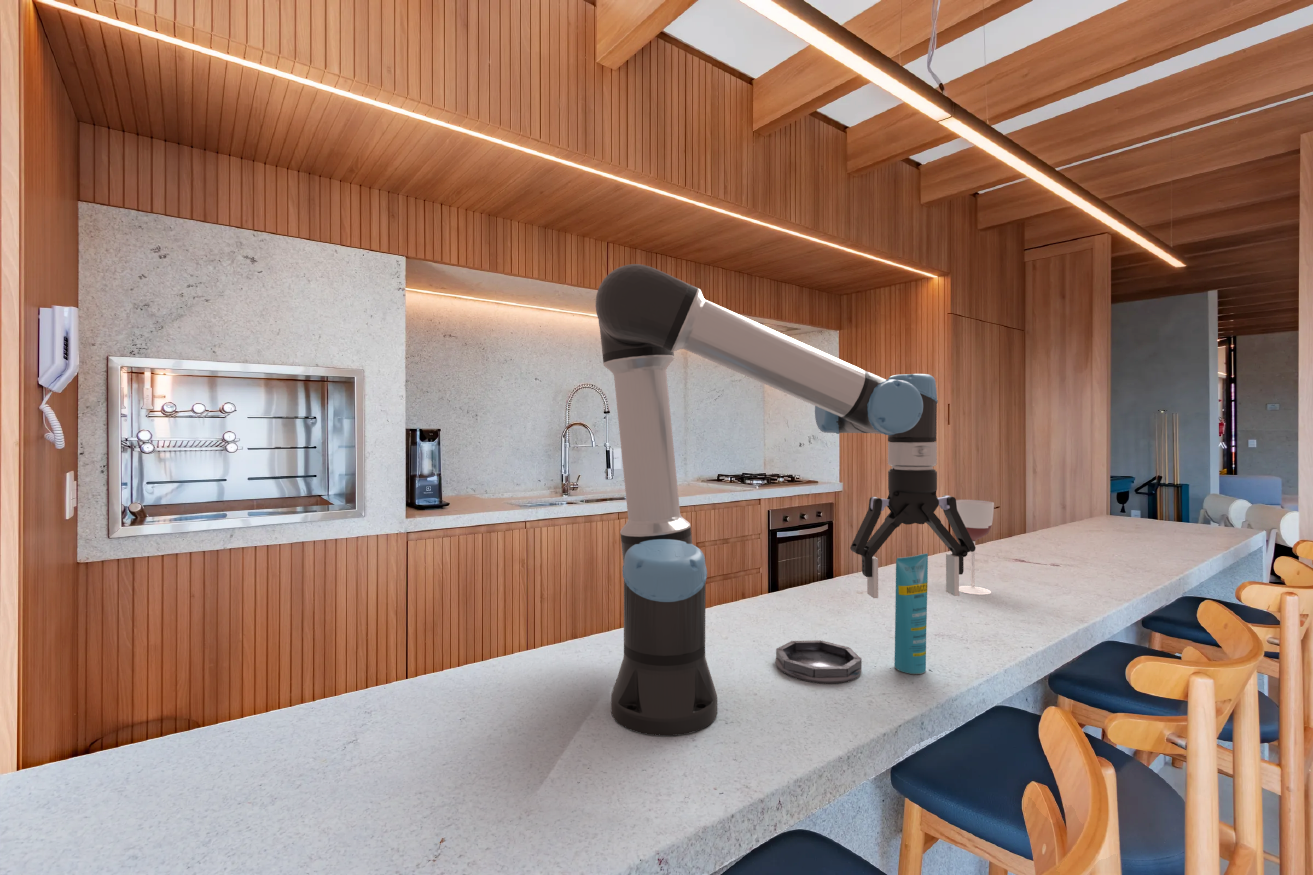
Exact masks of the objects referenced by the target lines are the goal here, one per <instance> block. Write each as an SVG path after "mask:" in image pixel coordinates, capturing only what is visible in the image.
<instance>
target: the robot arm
mask: <svg viewBox="0 0 1313 875" xmlns="http://www.w3.org/2000/svg"><path fill="white" fill-rule="evenodd" d="M595 296H596V297H595V312H596V316H597V319H598V326H599V334H600V345H601V353H602V364H603V366H604V367H605V368H606V369H607V370H609V371H610V372H611V373H612V375H613V380H614V381H613V382H614V389H615V400H616V410H617V419H618V428H619V429H618V430H619V431H618V432H619V439H620V450H621V459H622V460H621V461H622V468H623V470H622V471H623V479H624V480H623V481H624V490H625V491H624V492H625V501H626V510H627V518H628V519H627V521H626V523H625V524H624V526H622V528H621V529H620V531H619V534H620V543H621V553H622V563H623V564H622V578H623V658H622V661H621V663H620V664H621V665H620V667H619V670H618V674H617V677H616V680H615V682H614V683H615V684H614V686H613V690H612V692H611V697H610V698H611V699H610V700H611V702H610V703H611V704H610V707H611V709H610V711H611V716H612V718H613V720H615V722H616V723H617V724H618V725H621V726H622V727H623V728H625V729H628V730H630V731H633V732H636V733H638V734H639V733H640V734H643V735H644V734H645V735H649V736H662V737H663V736H664V737H665V736H668V737H669V736H670V737H671V736H681V735H687V734H692V733H694V732H697V731H700V730H702V729H705V728H707V727H708V726H710V725H711V724H712V723H714V721H715V720H716V718H717V715H718V694H717V690H716V688H715V685H714V681H713V678H712V674H711V671H710V668H709V665H708V662H707V657H706V581H707V578H708V570H707V565H706V557H705V554H704V553H703V551H702V549H700V548H699V547H698V546H696V545H695V544H693V537H692V526H691V523H690V522H689V521H688V520H687V519H685V518H684V517H683V516H682V515H681V508H680V501H679V500H680V499H679V497H680V496H679V488H678V478H677V477H678V476H677V468H676V458H675V448H674V447H675V446H674V437H673V436H674V435H673V428H672V418H671V417H672V416H671V408H670V406H671V405H670V398H669V388H668V387H669V386H668V377H667V375H668V374H667V370H668V367H670V365H671V363H672V362H673V361H674V360H675V354H674V353H675V352H677V351H679V350H685V351H688V352H690V353H692V354H694V355H696V356H700V357H702V358H704V359H706V360H708V361H711V362H713V363H715V364H717V365H720V366H722V367H725V368H727V369H729V370H731V371H734V372H735V373H739V374H741V375H743V376H745V377H747V378H750V379H753V380H754V381H757V382H759V383H762V384H764V385H766V386H769V387H771V388H773V389H775V390H778V391H780V392H782V393H785V394H787V395H789V396H792V397H794V398H797V399H799V400H801V401H803V402H805V403H808V404H810V405H813V406H814V417H815V418H814V419H815V423H816V425H817V426H816V427H817V428H818V430H819V431H820V432H822V433H828V434H838V435H839V434H875V435H876V434H877V435H878V434H879V435H885V436H887V464H888V466H891V468H889V470H888V471H887V478H888V479H887V480H888V484H887V486H888V487H887V490H888V496H887V498H880V497H876V496H870V497H869V500H868V510H867V511H866V514H865V515H864V518H863V520H862V522H861V525H860V526H859V529H858V531H857V533H856V534H855V536H854V539H853V541H852V543H851V545H850V552H851V551H852V552H853V553H854V554H857V555H859V556H861V572H862V575H863V576H864V577H866V579H867V580H866V584H867V590H866V591H867V595H869V596H870V597H871V598H873V599H879V558H877V557H876V556H875V554H876V553H877V552H878V550H880V549H881V548H882V546H883V545H884V544H885V542H886V541H887V540H888V539H889V537H890V536H891V535H892V534H893V533H894V531H895V530H896V529H897V528H899V527H900V526H901V525H902V524H903V525H906V526H907V525H913V524H917V525H925V524H927V525H928V526H929V528H930V529H931V530H932V531H933V532H934V533H935V534H936V536H937V537H938V538H939V539H940V540H941V542H942V543H943V544H944V545H945V547H946V548H947V549H948V551H950V552H951V553H945V592H946V593H948V594H950V595H952V596H953V597H959V596H960V591H959V586H960V576H961V575H963V574H964V558H966V557H967V556H968V553H971V552H973V551H975V552H976V544H975V545H974V543H973V541H972V539H971V537H970V535H969V533H968V531H967V529H966V527H965V525H964V523H963V521H962V519H961V517H960V515H959V513H958V511H957V504H956V500H957V499H956V497H955V496H951V495H947V494H944V495H942V497H941V496H940V497H938V495H937V490H938V471H936V469H935V468H933V467H936V466H937V464H938V463H937V462H938V461H937V460H938V458H937V457H938V451H937V450H938V446H937V445H938V443H937V437H938V436H937V430H938V428H937V426H938V424H937V422H938V420H937V419H938V418H937V416H938V412H937V411H938V408H937V407H938V402H939V401H938V394H937V392H938V391H937V384H936V383H937V381H936V379H935V377H934V376H932V375H931V374H928V373H910V374H895V375H891V376H889V377H888V378H887V379H886V378H883V377H882V376H879V375H876V374H875V373H872V372H869V371H867V370H864V369H862V368H860V367H858V366H856V365H854V364H851V363H849V362H846V361H844V360H842V359H840V358H838V357H835V356H833V355H831V354H829V353H826V352H824V351H822V350H820V349H818V348H815V347H813V346H811V345H808V344H806V343H804V342H801V341H799V340H797V339H795V338H793V337H791V336H788V335H786V334H783V333H781V332H780V331H778V330H777V331H776V330H775V329H772V328H770V327H768V326H766V325H764V324H761V323H759V322H757V321H756V320H755V321H754V320H752V319H750V318H747V317H746V316H743V315H741V314H738V313H737V312H734V311H732V310H729V309H727V308H726V307H723V306H720V305H719V304H716V303H714V302H712V301H710V300H707V299H705V298H704V295H703V292H702V290H701V288H698V287H696V286H694V285H693V284H689V283H687V282H685V281H683V280H681V279H679V278H677V277H674V276H672V275H671V274H668V273H666V272H664V271H661V270H659V269H657V268H654V267H652V266H649V265H645V264H639V263H632V264H626V265H622V266H619V267H617V268H615V269H613V270H612V271H611V272H609V273H608V274H607V275H606V277H604V278H603V279H602V282H601V283H600V285H599V287H598V289H597V293H596V295H595ZM886 507H887V509H888V510H889V513H888V514H887V515H886V517H885V518H884V521H883V522H882V524H881V525H880V526H879V527H878V529H877V530H876V531H875V532H874V534H873V535H872V533H873V531H874V530H875V527H876V525H877V523H878V521H879V519H880V517H881V514H882V512H883V511H884V510H885V508H886ZM938 507H939V508H940V509H941V510H943V513H944V514H943V515H945V517H946V519H947V521H948V523H949V525H950V527H951V530H952V531H953V533H954V536H955V537H956V539H955V538H954V536H953V535H952V534H951V532H950V531H949V530H948V529H947V528H946V526H944V524H943V523H942V521H941V518H939V517H938V515H936V514H935V511H936V510H937V508H938Z"/></svg>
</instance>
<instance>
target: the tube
mask: <svg viewBox="0 0 1313 875" xmlns="http://www.w3.org/2000/svg"><path fill="white" fill-rule="evenodd" d="M928 560H929V555H928V552H927V553H921V554H917V555H911V556H905V557H897V558H896V559H895V608H894V609H895V612H894V614H895V615H894V618H895V619H894V620H895V621H894V668H895V669H896V670H898V671H899V672H902V673H905V674H910V675H922V674H924V673H925V672H926V671H927V670H926V669H927V617H928V611H927V610H928V582H929V581H928V576H929V575H928V574H929V573H928V572H929V571H928V570H929V566H928V565H929V564H928V563H929V561H928Z"/></svg>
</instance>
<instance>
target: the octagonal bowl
mask: <svg viewBox="0 0 1313 875" xmlns="http://www.w3.org/2000/svg"><path fill="white" fill-rule="evenodd" d="M775 653H776V654H775V666H776V668H777V669H778V671H780V672H781V673H783V674H784V675H786V676H788V677H790V678H793V679H795V680H798V681H803V682H807V683H813V684H820V685H821V684H822V685H836V684H837V685H838V684H845V683H846V684H847V683H850V682H853V681H855V680H857V679H858V678H859V677H860V676H861V675H862V664H863V663H862V662H863V661H862V657H860V656H859V655H858V654H857V652H856V651H854V650H853V649H852V648H851V647H850V646H845V645H841V644H837V643H834V642H829V641H825V640H818V639H817V640H791V641H789V642H787V643H784V644H782V645H781V646H779V647H777V648H776V649H775Z"/></svg>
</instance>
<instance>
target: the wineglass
mask: <svg viewBox="0 0 1313 875" xmlns="http://www.w3.org/2000/svg"><path fill="white" fill-rule="evenodd" d="M956 504H957V511H958V513H959V515H960V517H961V519H962V521H963V523H964V525H965V527H966V529H967V531H968V533H969V535H970V537H971V539H972V541H973V543H974V545H975V546H976V541H977V540H979V539H982V538H984V537H985V536H987V535H988V534H989V533H990V531H991V529H992V525H993V521H994V520H993V519H994V511H995V502H993V501H990V500H989V501H987V500H979V499H956ZM970 553H971V554H970V555H971V556H970V585H959V593H965V594H970V595H980V596H981V595H990V594H992V591H991V590H990V589H987V588H984V587H980V586H975V585H976V583H975V580H976V578H975V577H976V576H975V574H976V572H975V571H976V550H975V551H973V552H971V551H970Z"/></svg>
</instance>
